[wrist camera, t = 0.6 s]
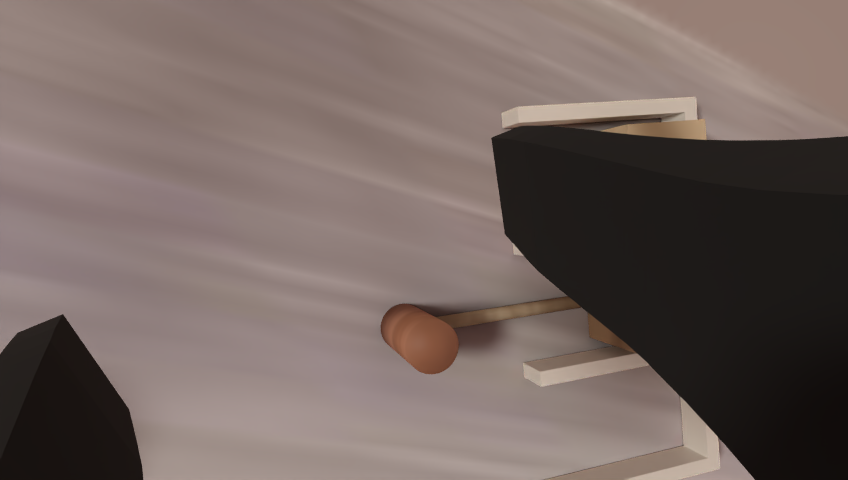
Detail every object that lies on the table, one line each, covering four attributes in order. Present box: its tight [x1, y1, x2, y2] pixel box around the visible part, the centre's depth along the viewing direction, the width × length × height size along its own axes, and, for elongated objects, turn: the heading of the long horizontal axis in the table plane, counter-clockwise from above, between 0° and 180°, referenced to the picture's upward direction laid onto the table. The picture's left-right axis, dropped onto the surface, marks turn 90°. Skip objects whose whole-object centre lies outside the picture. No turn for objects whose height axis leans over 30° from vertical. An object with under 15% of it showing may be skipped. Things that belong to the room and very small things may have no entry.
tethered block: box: [381, 297, 637, 374], centre depth 31 cm, size 16×4×5 cm, turn 96°
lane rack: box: [501, 97, 720, 480], centre depth 34 cm, size 11×21×2 cm, turn 6°
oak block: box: [602, 119, 706, 140], centre depth 32 cm, size 4×4×5 cm
